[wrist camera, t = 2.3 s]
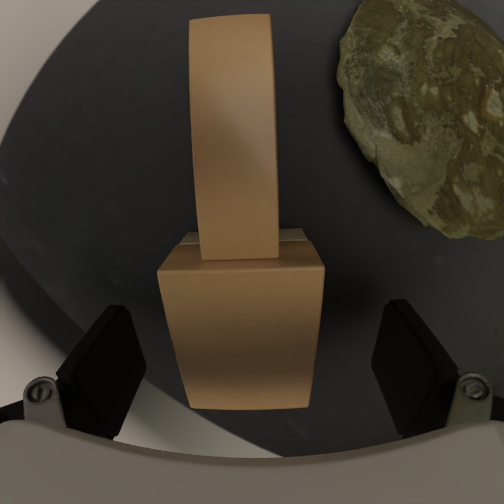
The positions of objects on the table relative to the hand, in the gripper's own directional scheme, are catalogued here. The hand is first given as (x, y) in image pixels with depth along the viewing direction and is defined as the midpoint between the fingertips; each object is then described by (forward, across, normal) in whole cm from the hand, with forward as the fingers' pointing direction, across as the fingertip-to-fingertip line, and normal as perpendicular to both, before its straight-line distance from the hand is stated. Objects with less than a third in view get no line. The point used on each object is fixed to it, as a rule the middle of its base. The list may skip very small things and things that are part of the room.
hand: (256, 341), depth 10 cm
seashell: (+3, -9, -9) cm, 13 cm away
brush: (+2, 0, -4) cm, 5 cm away
